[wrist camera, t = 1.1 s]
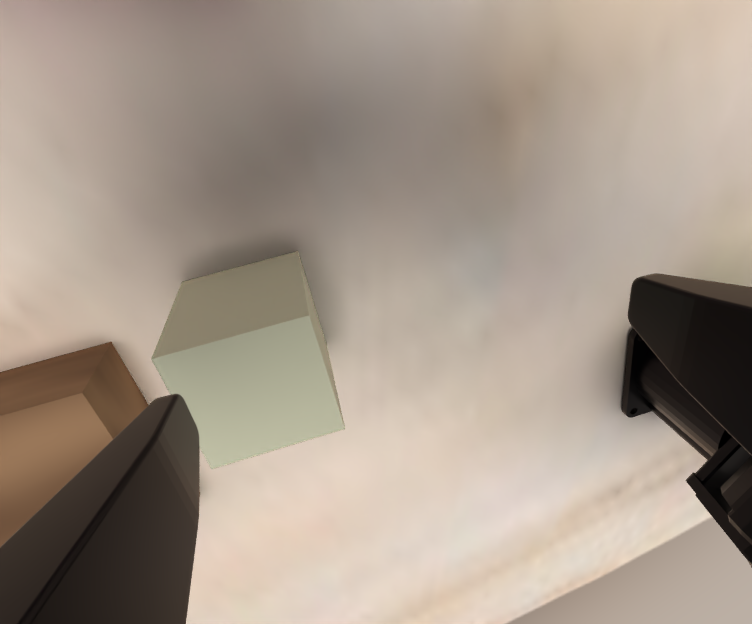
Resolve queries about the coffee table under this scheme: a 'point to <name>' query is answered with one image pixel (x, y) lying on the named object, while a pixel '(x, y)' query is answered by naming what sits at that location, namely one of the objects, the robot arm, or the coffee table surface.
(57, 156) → the coffee table surface
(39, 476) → the walnut block
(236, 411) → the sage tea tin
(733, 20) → the coffee table surface
